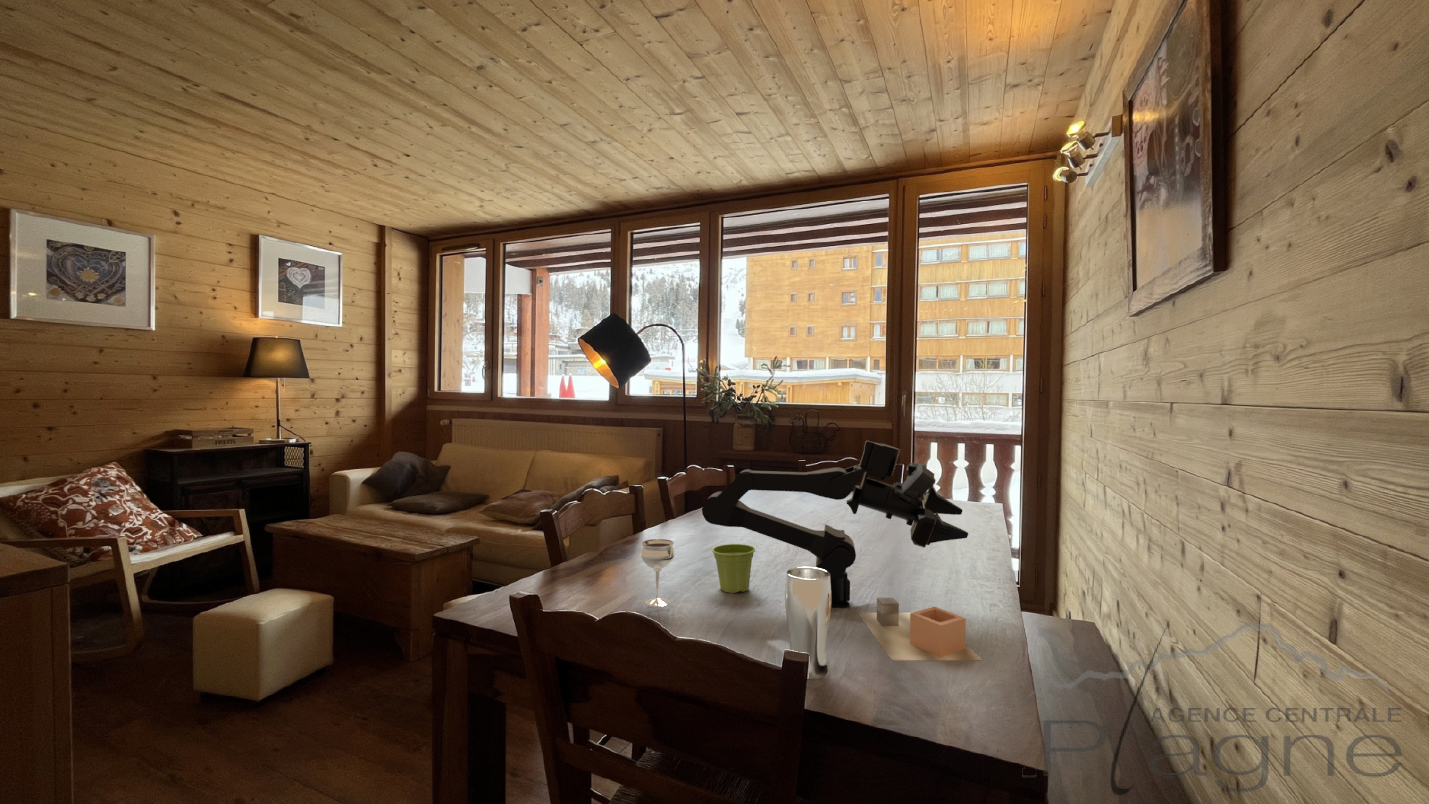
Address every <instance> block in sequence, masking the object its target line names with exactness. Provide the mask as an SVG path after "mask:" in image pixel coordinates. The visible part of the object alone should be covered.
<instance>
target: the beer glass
mask: <svg viewBox="0 0 1429 804" xmlns="http://www.w3.org/2000/svg"><path fill="white" fill-rule="evenodd" d="M784 597H785V598H784V601H785V602H784V603H785V604H784V605H785V607H784V609H785V617H786V623H787V629H788V635H789V647H790V648H789V651H790V650H794V651H798V652H807V653H809V656H810V665H809V679H808V680H819V679H822V678H824V677H826V675H827V674H828V672H829V670H828V669H829V668H828V665H827V662H828V661H827V658H826V644H827V635H828V631H829V625H830V622H831V621H830V620H831V614H832V613H831V612H832V607H831V583H830V573H829V572H828V571H826V570H824V569H820V568H816V566H815V567H813V566H796V567H791V568H789V569H787V571H786V583H785V595H784Z"/></svg>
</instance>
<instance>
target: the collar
mask: <svg viewBox="0 0 1429 804" xmlns="http://www.w3.org/2000/svg"><path fill="white" fill-rule="evenodd" d="M909 613H910V644H912V645H914V646H916V647H918V648H921V649H923V650H925V651H927V652H930V653H932V654H934V655H936V656H938V657H944V656H947V655H950V654H953V653H955V652H958V651H961V650H964V649H965V644H966V630H967V629H966V628H967V627H966V625H967V619H966V617H964V616H961V615H959V614H956V613H953V612H950V611H947V610H944V609H942V608H939V607H937V606H932V607H928V608H924V609H921V610H918V611H914V612H909Z"/></svg>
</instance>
